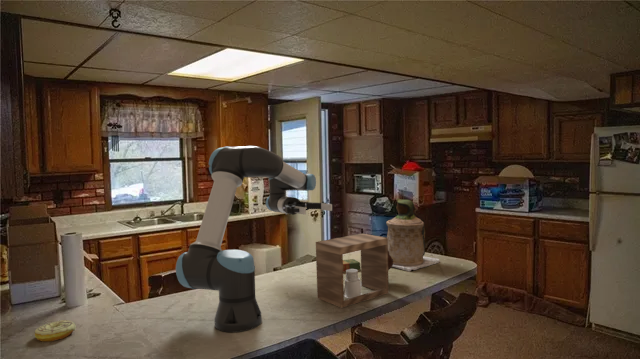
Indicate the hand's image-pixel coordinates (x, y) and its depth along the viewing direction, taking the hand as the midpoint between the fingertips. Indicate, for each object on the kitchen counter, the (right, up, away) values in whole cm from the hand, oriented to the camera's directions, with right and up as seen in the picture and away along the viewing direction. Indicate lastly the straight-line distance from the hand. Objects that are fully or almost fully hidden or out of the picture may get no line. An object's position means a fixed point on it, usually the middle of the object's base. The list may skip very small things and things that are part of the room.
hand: (318, 209), depth 177 cm
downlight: (+13, -33, -11) cm, 37 cm away
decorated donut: (-82, -37, -41) cm, 99 cm away
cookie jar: (+43, -29, +36) cm, 63 cm away
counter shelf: (+13, -32, -11) cm, 37 cm away
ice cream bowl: (+26, -31, +5) cm, 41 cm away
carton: (+11, -31, +27) cm, 42 cm away
